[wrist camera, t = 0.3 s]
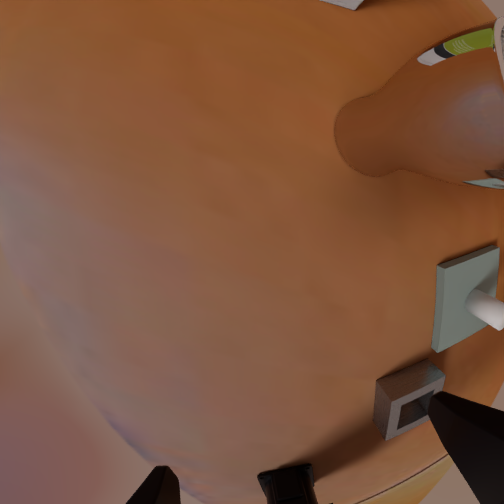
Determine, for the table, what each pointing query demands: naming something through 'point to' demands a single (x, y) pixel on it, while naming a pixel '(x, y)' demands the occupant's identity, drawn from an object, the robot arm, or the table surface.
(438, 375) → the square ring block
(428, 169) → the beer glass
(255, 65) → the table surface
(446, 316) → the shaft block
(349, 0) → the tea box
